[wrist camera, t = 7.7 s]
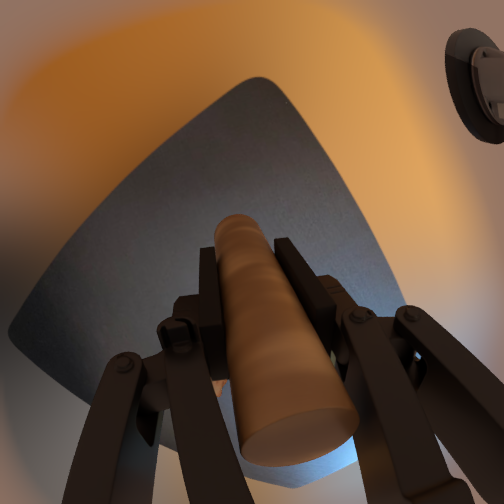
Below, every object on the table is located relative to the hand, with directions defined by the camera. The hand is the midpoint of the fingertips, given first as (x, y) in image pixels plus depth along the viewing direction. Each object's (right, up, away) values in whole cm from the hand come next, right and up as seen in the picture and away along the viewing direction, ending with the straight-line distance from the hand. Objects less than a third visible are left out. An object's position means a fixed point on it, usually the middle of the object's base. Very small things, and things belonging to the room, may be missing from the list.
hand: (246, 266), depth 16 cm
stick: (-1, +2, +4) cm, 5 cm away
